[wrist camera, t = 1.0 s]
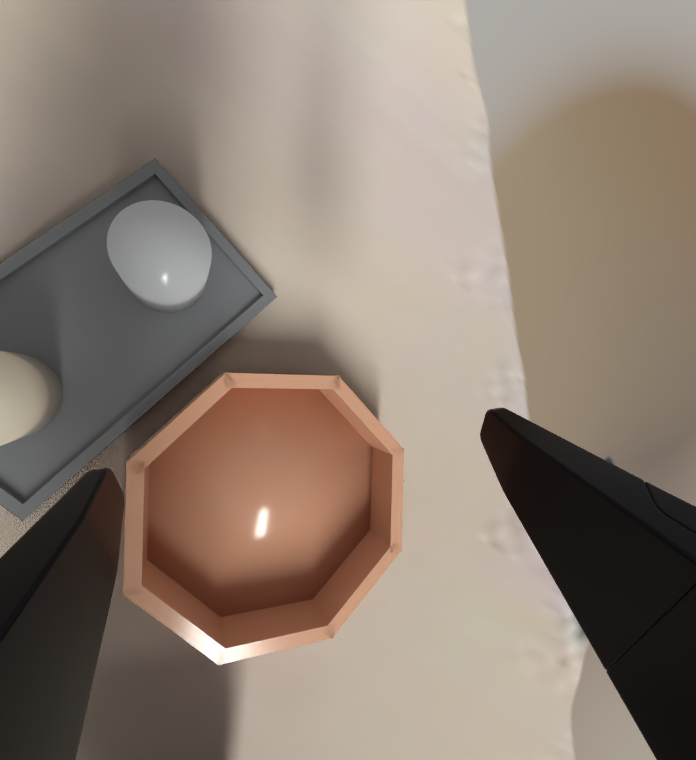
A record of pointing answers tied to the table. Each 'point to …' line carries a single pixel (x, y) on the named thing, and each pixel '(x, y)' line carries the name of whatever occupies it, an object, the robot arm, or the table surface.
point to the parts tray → (106, 334)
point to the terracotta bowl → (262, 514)
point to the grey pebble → (160, 254)
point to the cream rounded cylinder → (26, 396)
